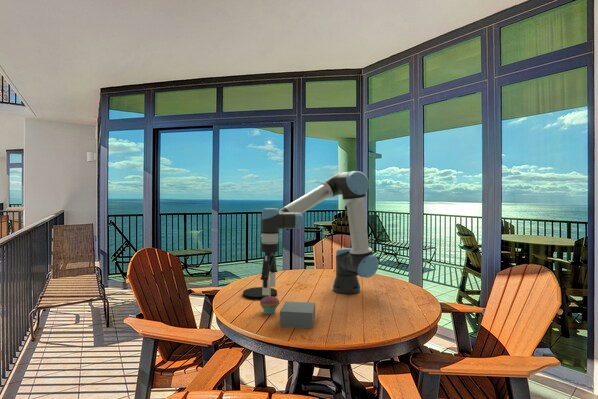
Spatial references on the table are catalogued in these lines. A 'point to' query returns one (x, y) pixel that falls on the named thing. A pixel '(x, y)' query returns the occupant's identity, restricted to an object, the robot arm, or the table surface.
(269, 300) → the cupcake
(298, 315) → the plinth
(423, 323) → the table surface
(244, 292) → the wireless charger
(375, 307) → the table surface
